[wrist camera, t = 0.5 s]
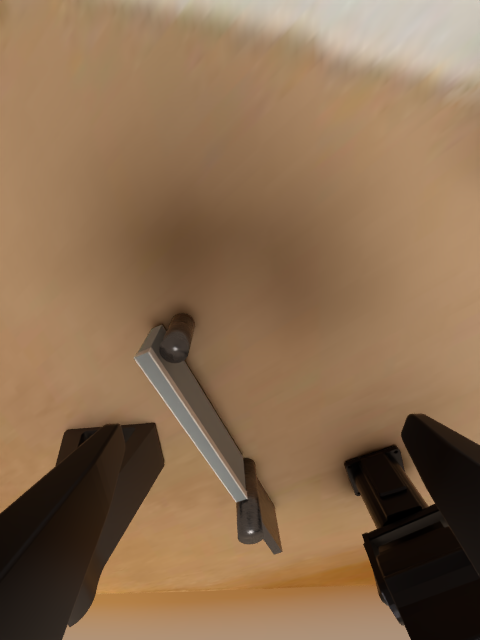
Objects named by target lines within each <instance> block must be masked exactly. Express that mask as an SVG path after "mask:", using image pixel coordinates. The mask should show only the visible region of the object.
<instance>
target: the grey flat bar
mask: <svg viewBox="0 0 480 640" xmlns="http://www.w3.org/2000/svg"><path fill="white" fill-rule="evenodd" d="M165 334H166V330H165V328H164V327H163V325H160V326H157V327H155V328H153V329H151V331H150V332H149V334H148V336H147V338H146V339H145V341H144V343H143V344H142V346H141V348H140V350H139V351H138V353H136V355H135V356H134V359H135V361H136V362H137V364H138V365H139V366H140V368H141V369H142V371H143V372H144V373H145V375H146V376H147V378H148V379H149V381H150V382H151V383H152V385H153V386H154V388H155V389H156V390H157V392H158V393H159V395H160V396H161V397H162V399H163V400H164V402H165V403H166V404H167V406H168V407H169V409H170V410H171V411H172V413H173V414H174V416H175V417H176V419H177V420H178V421H179V423H180V424H181V426H182V427H183V428H184V430H185V431H186V433H187V434H188V435H189V437H190V438H191V440H192V441H193V442H194V444H195V445H196V447H197V448H198V450H199V451H200V452H201V454H202V455H203V457H204V458H205V459H206V461H207V462H208V464H209V465H210V466H211V468H212V469H213V471H214V472H215V473H216V475H217V476H218V478H219V479H220V480H221V482H222V483H223V485H224V486H225V488H226V489H227V490H228V492H229V493H230V495H231V496H232V497H233V499H234V500H235V502H239V501H242V500H245V499H248V498H247V491H246V486H245V474H244V462H243V456H242V454H241V453H240V451H239V449H238V448H237V446H236V445H235V443H234V441H233V440H232V438H231V436H230V435H229V433H228V431H227V430H226V428H225V427H224V425H223V423H222V422H221V420H220V418H219V417H218V415H217V413H216V412H215V410H214V409H213V407H212V405H211V404H210V402H209V400H208V399H207V397H206V395H205V394H204V392H203V391H202V389H201V387H200V386H199V384H198V382H197V381H196V379H195V377H194V376H193V374H192V373H191V371H190V369H189V368H188V366H187V364H186V363H185V361H182V362H180V363H170V362H167V361H165V360H164V359H163V358H162V357H161V355H160V352H159V348H160V345H161V343H162V341H163V338H164V336H165Z"/></svg>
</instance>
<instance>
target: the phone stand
mask: <svg viewBox="0 0 480 640" xmlns="http://www.w3.org/2000/svg"><path fill="white" fill-rule="evenodd" d="M121 427H122V431H123V436H124V440H125V452H124V456H123V460H122V463H121V467H120V471H119V475H118V479H117V483H116V487H115V490H114V494H113V498H112V502H111V505H110V509H109V512H108V515H107V517H106V520H105V523H104V526H103V528H102V531H101V534H100V537H99V539H98V542H97V545H96V548H95V550H94V553H93V556H92V559H91V561H90V564H89V567H88V570H87V572H86V575H85V578H84V581H83V583H82V586H81V589H80V592H79V594H78V597H77V600H76V603H75V605H74V608H73V611H72V614H71V616H70V619H69V622H68V625H69V627H71V626H73V625H74V624H76V623H77V622H78V621H79V620H80V619H81V618H82V617H83V616H84V615H85V613H86V612H87V611H88V609H89V608H90V606H91V604H92V602H93V600H94V597H95V594H96V589H97V585H98V581H99V578H100V575H101V573H102V570H103V568H104V566H105V564H106V562H107V561H108V559H109V557H110V556H111V554H112V552H113V551H114V549H115V547H116V546H117V544H118V542H119V541H120V539H121V537H122V536H123V534H124V532H125V531H126V529H127V527H128V526H129V524H130V522H131V520H132V519H133V517H134V515H135V514H136V512H137V510H138V509H139V507H140V505H141V504H142V502H143V500H144V499H145V497H146V495H147V494H148V492H149V490H150V489H151V487H152V485H153V484H154V482H155V480H156V479H157V477H158V475H159V474H160V472H161V470H162V469H163V467H164V461H163V456H162V452H161V448H160V444H159V440H158V436H157V431H156V427H155V424H154V423H145V424H132V425H121ZM100 428H101V427H95V428H82V429H70V430H67V431H66V432H65V433H64V435H63V439H62V443H61V447H60V451H59V455H58V458H57V462H56V466H57V465H58V464H59V463H60V462H61V461H63V460H64V459H65V458H66V457H67V456H68V455H70V454H71V453H72V452H73V451H74V450H76V449H77V448H78V447H79V446H80V445H81V444H83V443H84V442H85V441H86V440H87V439H88V438H90V437H91V436H92V435H93V434H94V433H95V432H97V431H98V430H99V429H100ZM56 466H55V467H56Z"/></svg>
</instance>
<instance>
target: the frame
mask: <svg viewBox="0 0 480 640" xmlns="http://www.w3.org/2000/svg"><path fill="white" fill-rule="evenodd" d="M194 327H195V322H194V320H193V318H192V317H191V316H189V315H188V314H184V313H181V314H177V315H175V316H174V317H173V319H172V321H171V323H170V325H169V327H168V330H167V332H166V334H165V336H164V338H163V341H162V343H161V345H160V348H159V352H160V355H161V357H162V358H163V359H164V360H165V361H167V362H170V363H180V362H182V361H184V360H185V359H186V358H187V356H188V353H189V348H190V344H191V340H192V336H193V331H194ZM243 462H244V474H245V486H246V491H247V498H248V499H245V500H242V501H239V502H236V508H237V530H238V540H239V541H240V542H241V543H244V544H255V543H258V542H260V541H261V540H262V539H263V540H264V541H265V542H266V544H267V545H268V547H269V548H270V549H271V551H272V552H273V554H277V553H281V552H282V547H281V541H280V536H279V530H278V524H277V519H276V513H275V507H274V505H273V503H272V502H271V500H270V498H269V497H268V495H267V493H266V492H265V490H264V488H263V487H262V485H261V484H260V482H259V480H258V479H257V476H256V468H255V463H254V461H253V460H251V459H247V458H245V459H243Z"/></svg>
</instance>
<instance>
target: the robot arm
mask: <svg viewBox="0 0 480 640" xmlns="http://www.w3.org/2000/svg"><path fill="white" fill-rule="evenodd" d="M401 437H402V440H403V442H404V444H405V446H406V448H407V450H408V452H409V454H410V456H411V458H412V460H413V463H414V465H415V467H416V469H417V471H418V473H419V475H420V477H421V479H422V481H423V483H424V484H425V486H426V488H427V490H428V492H429V494H430V495H431V497H432V499H433V501H434V502H435V504H433V505H431V506H429V507H428V505H427V504H426V502H425V501H424V499H423V498H422V496H421V495H420V493H419V492H418V491H417V489H416V488H415V486H414V485H413V483H412V482H411V480H410V479H409V478H408V476H407V475H406V473H405V471H404V466H403V462H402V457H401V452H400V450H399V448H398V447H397V446H393V447H390V448H387V449H384V450H381V451H378V452H375V453H372V454H369V455H366V456H362V457H359V458H356V459H353V460H350V461H347V462H346V463H345V464H344V465H345V468H346V471H347V474H348V476H349V479H350V482H351V485H352V487H353V490H354V493H355V495H356V496H360V495H361V497H362V499H363V501H364V503H365V505H366V507H367V509H368V511H369V513H370V515H371V517H372V519H373V521H374V523H375V526H376V528H377V529H376V530H374V531H372V532H369V533H367V532H366V533H364V534H362V536H363V539H364V544H363V545H364V547H365V550H366V552H367V554H368V557H369V560H370V563H371V566H372V569H373V572H374V576H375V581H376V585H377V589H378V593H379V596H380V598H381V600H382V602H384V603H385V604H386V605H388V606H389V607H390V609H391V611H392V612H393V614H394V615H395V617H396V618H397V620H398V621H399V623H400V624H401V625H405V627H406V630H407V632H408V634H409V637H410V638H411V640H480V445H478V444H477V443H475V442H473V441H471V440H469V439H468V438H466V437H464V436H462V435H460V434H459V433H457V432H455V431H453V430H451V429H450V428H448V427H446V426H444V425H442V424H441V423H439V422H437V421H435V420H433V419H432V418H430V417H428V416H426V415H424V414H409V415H408V416H407V418H406V421H405V424H404V426H403V429H402V432H401ZM124 452H125V440H124V436H123V431H122V427H121V425H120V424H106V425H104V426H102V427H101V428H100V429H99V430H98V431H97V432H95V433H94V434H93V435H92V436H91V437H90V438H88V439H87V440H86V441H85V442H84V443H83V444H81V445H80V446H79V447H78V448H77V449H76V450H74V451H73V452H72V453H71V454H70V455H68V456H67V457H66V458H65V459H64V460H63V461H61V462H60V463H59V464H58V465H57V466H56V467H54V468H53V469H52V470H51V471H50V472H49V473H47V474H46V475H45V476H44V477H43V478H42V479H40V480H39V481H38V482H37V483H36V484H34V485H33V486H32V487H31V488H30V489H29V490H27V491H26V492H25V493H24V494H23V495H22V496H20V497H19V498H18V499H17V500H16V501H15V502H13V503H12V504H11V505H10V506H9V507H7V508H6V509H5V510H4V511H3V512H2V513H0V640H62V638H63V635H64V633H65V630H66V627H67V624H68V622H69V619H70V616H71V614H72V611H73V608H74V605H75V603H76V600H77V597H78V594H79V592H80V589H81V586H82V583H83V581H84V578H85V575H86V572H87V570H88V567H89V564H90V561H91V559H92V556H93V553H94V550H95V548H96V545H97V542H98V539H99V537H100V534H101V531H102V528H103V526H104V523H105V520H106V517H107V515H108V512H109V509H110V505H111V502H112V498H113V494H114V490H115V487H116V483H117V479H118V475H119V471H120V467H121V463H122V460H123V456H124Z"/></svg>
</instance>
